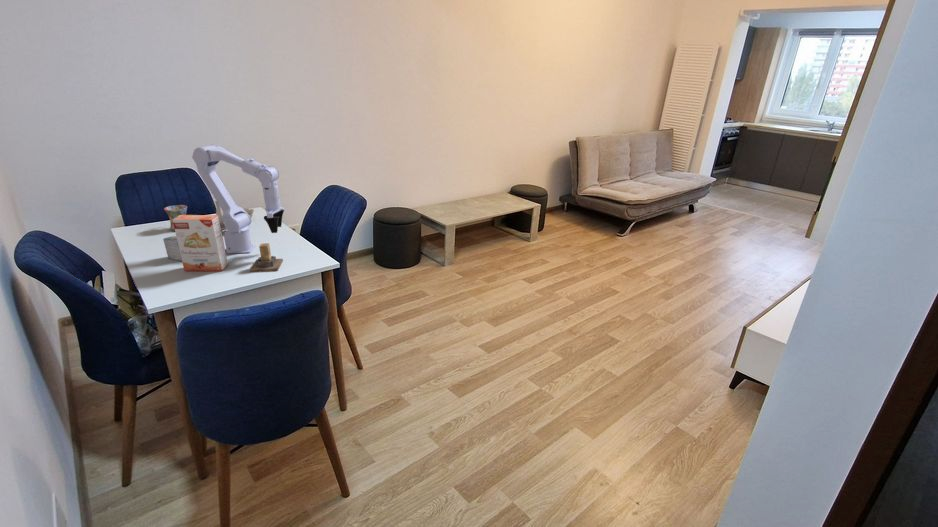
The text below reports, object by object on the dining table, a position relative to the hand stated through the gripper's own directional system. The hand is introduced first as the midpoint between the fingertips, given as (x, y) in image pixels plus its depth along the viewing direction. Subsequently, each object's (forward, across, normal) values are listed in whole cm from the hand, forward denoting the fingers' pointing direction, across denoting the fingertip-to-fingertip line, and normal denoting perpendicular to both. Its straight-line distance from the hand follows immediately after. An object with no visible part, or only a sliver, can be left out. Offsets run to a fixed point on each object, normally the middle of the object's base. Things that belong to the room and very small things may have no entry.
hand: (276, 229), depth 186 cm
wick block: (+9, -14, +2) cm, 17 cm away
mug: (+11, +37, +53) cm, 66 cm away
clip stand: (+10, -14, +2) cm, 18 cm away
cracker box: (+11, -14, +24) cm, 30 cm away
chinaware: (+11, +38, +30) cm, 50 cm away
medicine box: (+11, -2, +38) cm, 40 cm away
